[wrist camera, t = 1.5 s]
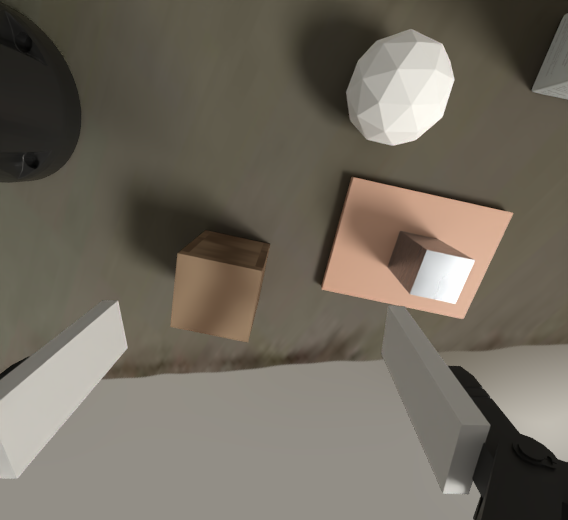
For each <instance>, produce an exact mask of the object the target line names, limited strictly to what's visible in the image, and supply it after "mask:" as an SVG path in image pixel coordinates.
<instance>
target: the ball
mask: <svg viewBox="0 0 568 520" xmlns="http://www.w3.org/2000/svg"><path fill="white" fill-rule="evenodd" d="M453 82H454V76H453V71H452V67H451V62H450V60H449V57H448V55H447V53H446V51H445V49H444V46H443V44H442V43H439V42H437V41H435V40H433V39H431V38H429V37H427V36H425V35H423V34H421V33H419V32H417V31H414V30H412V29H409V30H406V31H403V32H400V33H397V34H394V35H392V36H389V37H386V38H383V39H380V40H377V41H376V42H375V43H374V44H373V45H372V46H371V47H370V48H369V49H368V50H367V51H366V53H365V54H364V55H363V56H362V57H361V58H360V59H359V60H358V62H357V64H356V67H355V70H354V72H353V75H352V78H351V80H350V83H349V86H348V88H347V91H346V95H347V103H348V110H349V118H350V121H351V122H352V123H353V125H354V126H355V127H356V128H357V129H358V130H359V131H360V132H361V134H362V135H363V136H364V137H365V138H366V139H367V140H371V141H375V142H379V143H383V144H388V145H398V144H402V143H406V142H410V141H415V140H416V139H418V138H419V137H420V136H421V135H422V134H423V133H425V132H426V131H427V130H428V129H429V128H430V127H431V126H433V125H434V124H435V123H436V122H437V121H438V120H440V119H441V118H442V117H443V114H444V110H445V107H446V104H447V101H448V98H449V95H450V92H451V89H452V85H453Z"/></svg>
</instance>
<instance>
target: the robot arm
mask: <svg viewBox="0 0 568 520" xmlns="http://www.w3.org/2000/svg"><path fill="white" fill-rule="evenodd" d="M80 127H81V108H80V100H79V95H78V91H77V88H76V84H75V81H74V79H73V76H72V74H71V72H70V69H69V67H68V65H67V63H66V62H65V60H64V58H63V56H62V55H61V53H60V52H59V50H58V49H57V47H56V46H55V45H54V44H53V42H52V41H51V40H50V39H49V37H48V36H47V35H46V34H45V33H44V32H43V31H42V30H41V29H40V28H39V27H38V26H37V25H35V24H34V23H33V22H32V21H30V20H29V19H28V18H26V17H25V16H23V15H22V14H20V13H19V12H17V11H15V10H13V9H11V8H9V7H8V6H6V5H4V4H2V3H0V182H7V183H10V182H23V181H32V180H38V179H42V178H45V177H47V176H49V175H51V174H53V173H55V172H56V171H58V170H59V169H60V168H61V167H62V166H63V165H64V164H65V163H66V162H67V161H68V160H69V158H70V157H71V155H72V153H73V151H74V149H75V147H76V144H77V142H78V138H79V134H80ZM127 348H128V347H127V342H126V337H125V332H124V327H123V322H122V318H121V313H120V308H119V303H118V301H117V300H102V301H101V302H100V303H98V304H97V305H96V306H95V307H93V308H92V309H91V310H89V311H88V312H87V313H86V314H84V315H83V316H82V317H80V318H79V319H78V320H77V321H75V322H74V323H73V324H71V325H70V326H69V327H68V328H66V329H65V330H64V331H62V332H61V333H60V334H59V335H57V336H56V337H55V338H53V339H52V340H51V341H50V342H48V343H47V344H46V345H44V346H43V347H42V348H41V349H39V350H38V351H37V352H35V353H34V354H33V355H32V356H30V357H27V358H25V359H23V360H21V361H19V362H17V363H15V364H13V365H12V366H10V367H9V368H8V369H6V370H5V371H4V372H2V373H1V374H0V478H8V479H17V478H18V477H19V476H20V475H21V474H22V472H23V471H24V470H25V469H26V468H27V466H28V465H29V464H30V463H31V462H32V461H33V459H34V458H35V457H36V456H37V455H38V453H39V452H40V451H41V450H42V449H43V447H44V446H45V445H46V444H47V443H48V442H49V440H50V439H51V438H52V437H53V436H54V434H55V433H56V432H57V431H58V430H59V429H60V427H61V426H62V425H63V424H64V423H65V421H66V420H67V419H68V418H69V417H70V415H71V414H72V413H73V412H74V411H75V410H76V408H77V407H78V406H79V405H80V404H81V403H82V401H83V400H84V399H85V398H86V397H87V395H88V394H89V393H90V392H91V391H92V389H93V388H94V387H95V386H96V385H97V384H98V382H99V381H100V380H101V379H102V378H103V376H104V375H105V374H106V373H107V372H108V371H109V369H110V368H111V367H112V366H113V365H114V363H115V362H116V361H117V360H118V359H119V358H120V356H121V355H122V354H123V353H124V352H125V350H126V349H127ZM381 354H382V356H383V359H384V361H385V363H386V365H387V367H388V370H389V372H390V374H391V377H392V379H393V381H394V384H395V386H396V388H397V390H398V393H399V395H400V397H401V399H402V402H403V404H404V406H405V409H406V411H407V413H408V416H409V418H410V420H411V422H412V425H413V427H414V429H415V431H416V434H417V436H418V438H419V440H420V443H421V445H422V447H423V450H424V452H425V454H426V456H427V459H428V461H429V463H430V465H431V468H432V470H433V472H434V474H435V477H436V479H437V482H438V484H439V486H440V488H441V491H442V493H444V494H445V493H447V494H469V491H470V488H471V485H472V482H473V481H474V483H475V485H476V487H477V489H478V490H479V492H480V494H481V497H480V500H479V503H478V505H477V508H476V511H475V514H474V517H473V519H474V520H568V462H564V461H561V460H558V459H557V458H556V457H555V455H554V454H553V453H552V452H551V451H550V450H549V449H547V448H546V447H545V446H544V445H543V444H541V443H539V442H538V441H536V440H534V439H533V438H530V437H528V436H525V435H522V434H520V433H519V432H518V431H517V429H516V428H515V427H514V426H513V424H512V423H511V422H510V421H509V419H508V418H507V417H506V416H505V414H504V413H503V412H502V411H501V410H500V408H499V407H498V406H497V405H496V403H495V402H494V401H493V400H492V399H490V396H489V395H488V394H487V392H486V391H485V390H484V389H482V386H481V385H480V384H479V382H478V381H477V380H476V379H475V377H474V376H473V375H471V374H470V373H469V372H467V371H466V370H465V369H463V368H462V367H461V366H447V364H446V363H445V362H444V360H443V359H442V358H441V356H440V355H439V353H438V352H437V351H436V349H435V348H434V346H433V345H432V344H431V342H430V341H429V340H428V338H427V337H426V335H425V334H424V333H423V331H422V330H421V329H420V327H419V326H418V324H417V323H416V322H415V320H414V319H413V317H412V316H411V315H410V313H409V312H408V311H407V309H406V308H405V306H388V311H387V318H386V325H385V332H384V339H383V346H382V353H381Z"/></svg>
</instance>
